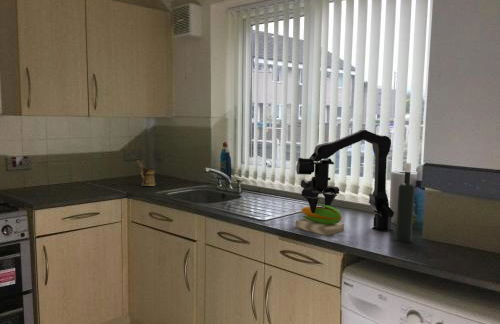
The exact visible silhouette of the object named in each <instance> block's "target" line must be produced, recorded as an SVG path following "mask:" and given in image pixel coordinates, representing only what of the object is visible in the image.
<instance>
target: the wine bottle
mask: <svg viewBox="0 0 500 324" xmlns="http://www.w3.org/2000/svg"><path fill="white" fill-rule="evenodd" d="M411 171H412V163H411V162H405V163H404V182H403V183H401V184H399V186H398V191H397V192H398V195H397V208H396V209H397V210H396V212H397V213H396V225H395V240H396V241H398V242H403V243H410V242H412V233H413V219H414V208H415V207H414V205H415V186H414V185H415V184H412V183H411Z"/></svg>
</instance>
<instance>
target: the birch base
mask: <svg viewBox="0 0 500 324" xmlns="http://www.w3.org/2000/svg"><path fill="white" fill-rule="evenodd" d="M294 227H295V228H296V229H300V230H304V231H307V232H310V233H314V234H320V235H323V236H329V235H333V234H338V233H340V232H344V230H345V223H343V222H339V223H336V224H332V225H326V224H321V223H316V222H313V221H310V220H308V219H306V218H301V219H296V220H295V226H294Z"/></svg>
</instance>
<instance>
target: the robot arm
mask: <svg viewBox="0 0 500 324" xmlns="http://www.w3.org/2000/svg"><path fill="white" fill-rule="evenodd" d="M361 141H365V142H367V143H369V144H371V145H372V151H373V154H374V157H375V159H374V184H373V185H374V186H373V187H374V188H373V191H372V193H369V194H368V198H369V199H368V200H369V201H368V204H369V205H370V208H371V209H372V210H373V213H374V217H373V227H372V228H371V229H372V230H377V231H382V232H389V231H392V230H394V228H393V227H392V220H393V217H394V214H395V212H394V210H393V209H392V208H391V207H390V201H389V198H388V194H387V192H386V191H387V189H386V187H387V186H386V185H387V161H388V160H387V158H388V156H389V153H390V150H391V147H392V140H391V138H390V137H389V136H387V135H382V134H381V135H379V134H377V133H375V132H374V133H373V132H371V131H369V130H367V129H359V130H358V131H356V132H353V133H351V134H349V135H346V136H344V137H342V138H339V139H337V140H334V141H329V142H324V143H319V144H317V145H315V147H314V151H313V153H312V154H311V155H310V157H309V158H303V157H298V159H297V162H296V165H295V166H296V167H295V169H296V174H297V175H305V176H306V175H307V176H308V175H310V176H311V175H313V173H314V176H311V180H307V179H302V180H301V181H300V188H302V190H301V192H300V193H301V194H300V195H301V197H303V198H304V199H306V200H307V203H308V206H309V207H310V209H311V212H312V213H313V214H314V213H315V210H316V207H318V205H317V204H318V202H319V200H320V197H319V195H321V194H322V195H323V197H324V205H328V206H331V205H332V203H333V202H334V200H335V199H336V197H337V196H338V195H339V194H340V188H339V186H334V185H329V181H331V177H329V173H330V172H329V171H330V165H335V162H333V160H332V159H331V158H330V157H332V156H333V155H335V154H336V153H337V152H338V151H340V150H342V149H345V148H347V147H350V146H352V145H354V144H356V143H359V142H361ZM331 207H332V206H331ZM324 208H327V207H324Z"/></svg>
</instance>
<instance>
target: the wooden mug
mask: <svg viewBox="0 0 500 324" xmlns="http://www.w3.org/2000/svg"><path fill="white" fill-rule="evenodd" d="M136 164H137V165H138V166H139V168H140V169H141V170H140V177H141V179H142V183H141V186H142V187H143V186H154V187H156V186H157V185H156V181H155V179H156V178H155V170H154V168H145V166H146V165H145V164H144V162H143V161H141V160H140V159H136ZM155 185H156V186H155Z"/></svg>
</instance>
